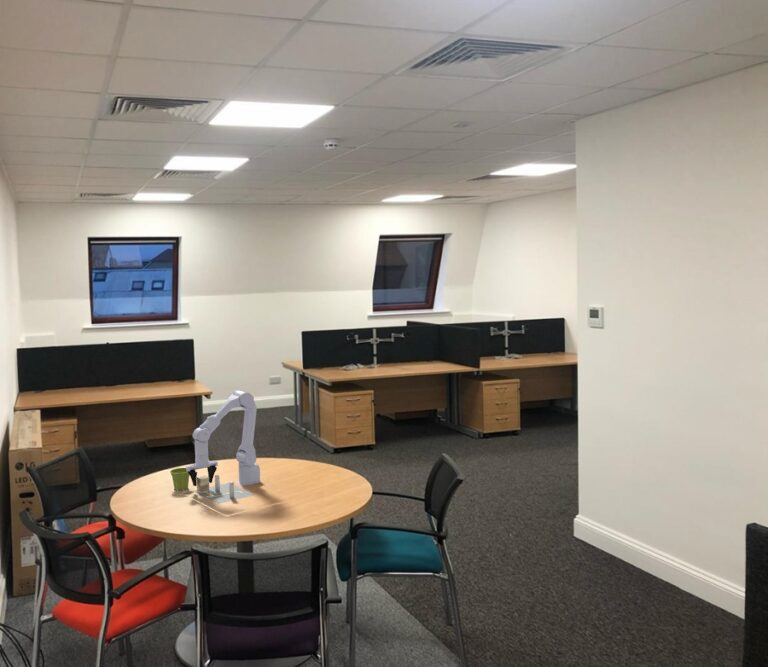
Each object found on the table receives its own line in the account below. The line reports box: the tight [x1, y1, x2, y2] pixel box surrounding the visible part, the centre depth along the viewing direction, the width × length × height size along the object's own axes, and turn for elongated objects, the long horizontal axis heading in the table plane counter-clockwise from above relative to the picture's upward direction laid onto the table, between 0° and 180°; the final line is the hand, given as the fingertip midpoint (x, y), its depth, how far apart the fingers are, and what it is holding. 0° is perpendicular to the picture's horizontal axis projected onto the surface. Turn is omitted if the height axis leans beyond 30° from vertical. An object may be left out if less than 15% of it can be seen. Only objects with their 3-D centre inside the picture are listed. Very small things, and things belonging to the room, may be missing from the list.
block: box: [196, 475, 210, 492], centre depth 329 cm, size 4×4×6 cm
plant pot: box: [169, 467, 190, 491], centre depth 336 cm, size 9×9×9 cm
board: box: [193, 474, 256, 504], centre depth 327 cm, size 18×24×8 cm
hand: (202, 484), depth 330 cm, fingers open, 7 cm apart
